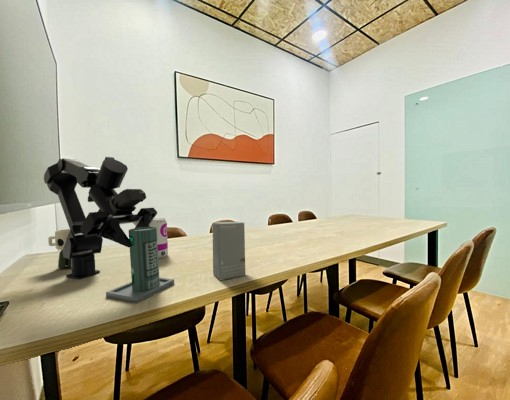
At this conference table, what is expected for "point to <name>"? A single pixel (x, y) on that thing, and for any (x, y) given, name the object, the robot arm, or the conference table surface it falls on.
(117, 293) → the tray
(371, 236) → the conference table surface
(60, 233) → the character mug
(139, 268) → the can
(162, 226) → the supplement can
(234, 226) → the skincare box
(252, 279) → the conference table surface
